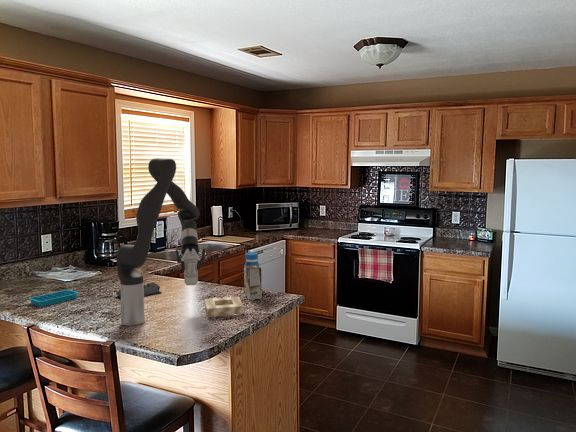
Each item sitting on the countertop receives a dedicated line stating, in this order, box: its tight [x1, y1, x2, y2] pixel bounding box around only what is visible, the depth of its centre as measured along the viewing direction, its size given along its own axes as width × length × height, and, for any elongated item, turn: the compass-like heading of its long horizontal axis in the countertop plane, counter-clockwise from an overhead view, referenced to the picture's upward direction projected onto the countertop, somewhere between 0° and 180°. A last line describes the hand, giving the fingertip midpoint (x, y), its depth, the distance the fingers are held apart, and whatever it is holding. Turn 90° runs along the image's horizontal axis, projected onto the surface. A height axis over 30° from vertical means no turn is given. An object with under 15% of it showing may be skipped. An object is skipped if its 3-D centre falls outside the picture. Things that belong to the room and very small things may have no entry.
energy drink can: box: [183, 251, 199, 286], centre depth 207 cm, size 6×6×15 cm
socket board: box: [204, 296, 245, 318], centre depth 207 cm, size 16×16×4 cm
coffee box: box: [244, 265, 263, 301], centre depth 228 cm, size 9×6×16 cm
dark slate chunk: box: [115, 281, 163, 299], centre depth 236 cm, size 15×22×5 cm
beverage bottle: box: [243, 251, 260, 291], centre depth 243 cm, size 8×8×20 cm
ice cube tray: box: [28, 289, 80, 307], centre depth 225 cm, size 12×20×3 cm, turn 145°
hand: (191, 269), depth 206 cm, fingers closed on energy drink can, 6 cm apart
